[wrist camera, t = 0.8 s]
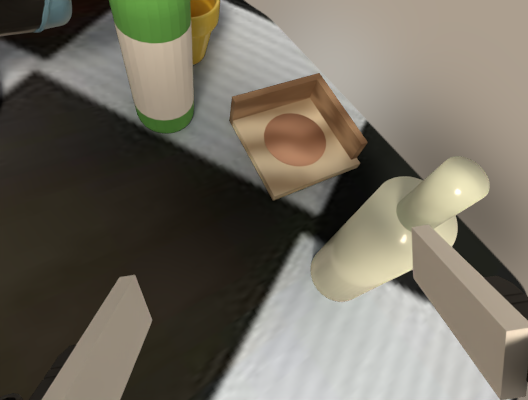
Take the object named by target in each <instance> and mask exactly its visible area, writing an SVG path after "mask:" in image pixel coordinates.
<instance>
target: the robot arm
mask: <svg viewBox="0 0 528 400" xmlns="http://www.w3.org/2000/svg"><path fill="white" fill-rule="evenodd" d="M71 15H72V2H71V0H0V36H6V35H14V34H22V33H30V32H35V33H37V32H41V31H43V30H44V29H48V28H53V27H58V26H62V25H65V24H66V23H67V22H68V21H69V20H70V18H71ZM412 255H413V278H414V279H415V281H416V282H417V283H418V285H419V286H420V288H421V289H422V290H423V292H424V293H425V295H426V296H427V297H428V299H429V300H430V302H431V303H432V305H433V306H434V307H435V309H436V310H437V312H438V313H439V314H440V316H441V317H442V319H443V320H444V321H445V323H446V324H447V326H448V327H449V328H450V330H451V331H452V333H453V334H454V335H455V337H456V338H457V340H458V341H459V342H460V344H461V345H462V347H463V348H464V349H465V351H466V352H467V354H468V355H469V357H470V358H471V359H472V361H473V362H474V364H475V365H476V366H477V368H478V369H479V371H480V372H481V373H482V375H483V376H484V378H485V379H486V380H487V382H488V383H489V385H490V386H491V387H492V389H493V390H494V392H495V393H496V394H497V396H498V397H499V399H500V400H504V399H511V398H518V397H525V396H526V390H527V382H528V297H527V296H526V295H525V294H523V293H522V291H520V290H519V289H518V288H517V287H516V286H515V285H514V284H513V283H511V282H509V281H507V280H505V279H503V278H501V277H499V276H492V277H486V278H483V277H482V276H481V275H480V274H479V273H478V272H477V271H476V270H475V269H474V268H473V267H472V266H471V265H470V264H469V263H468V262H467V261H466V260H465V259H464V258H463V257H462V256H461V255H459V254H458V253H457V252H456V251H455V250H454V249H453V248H452V247H451V246H450V245H449V244H448V243H447V242H446V241H445V240H444V239H443V238H442V237H441V236H440V235H439V234H438V233H437V232H436V231H435V230H434V229H433V228H432V227H431V226H430V225H429V224H428V225H422V226H416V227H412ZM151 322H152V318H151V316H150V313H149V310H148V308H147V305H146V303H145V300H144V297H143V295H142V292H141V289H140V287H139V284H138V282H137V279H136V276H135V275H131V276H125V277H119V279H118V281H117V282H116V284H115V285H114V287H113V288H112V290H111V292H110V293H109V295H108V296H107V298H106V299H105V301H104V303H103V304H102V306H101V307H100V309H99V310H98V312H97V314H96V315H95V317H94V318H93V320H92V321H91V323H90V325H89V326H88V328H87V329H86V331H85V332H84V334H83V335H82V337H81V339H80V340H79V342H78V343H77V345H71V346H69V347H68V348H67V349H66V350H65V351H64V352H62V353H61V354H60V355H59V356H58V357H57V359H56V360H55V362H54V363H53V365H52V366H51V368H50V370H49V371H48V372H47V374H46V375H45V377H44V380H42V381H41V383H40V384H39V386H38V387H37V389H36V390H35V392H34V393H33V395H32V396H31V398H30V399H29V400H120V398H121V396H122V393H123V391H124V389H125V386H126V384H127V381H128V379H129V376H130V374H131V371H132V369H133V366H134V364H135V361H136V359H137V357H138V354H139V352H140V349H141V347H142V344H143V342H144V339H145V337H146V334H147V332H148V330H149V327H150V325H151ZM0 400H23V399H22V397H21V396H20V395H19V394H14V393H12V394H8V395H4V396H2V397H0Z"/></svg>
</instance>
